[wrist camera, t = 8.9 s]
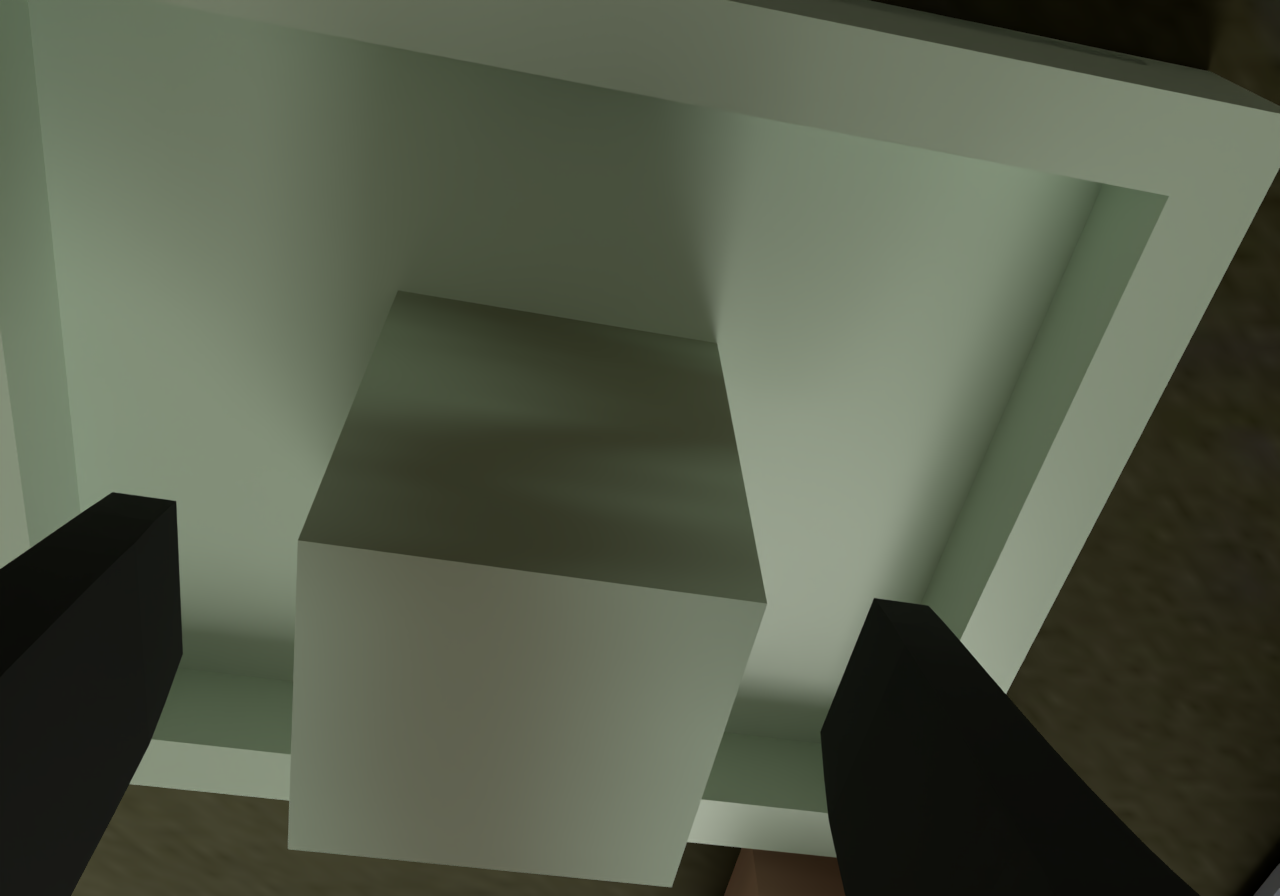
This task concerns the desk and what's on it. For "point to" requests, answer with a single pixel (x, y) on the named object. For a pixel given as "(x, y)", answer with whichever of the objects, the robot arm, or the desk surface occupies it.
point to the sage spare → (521, 598)
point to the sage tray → (607, 297)
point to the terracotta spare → (784, 875)
